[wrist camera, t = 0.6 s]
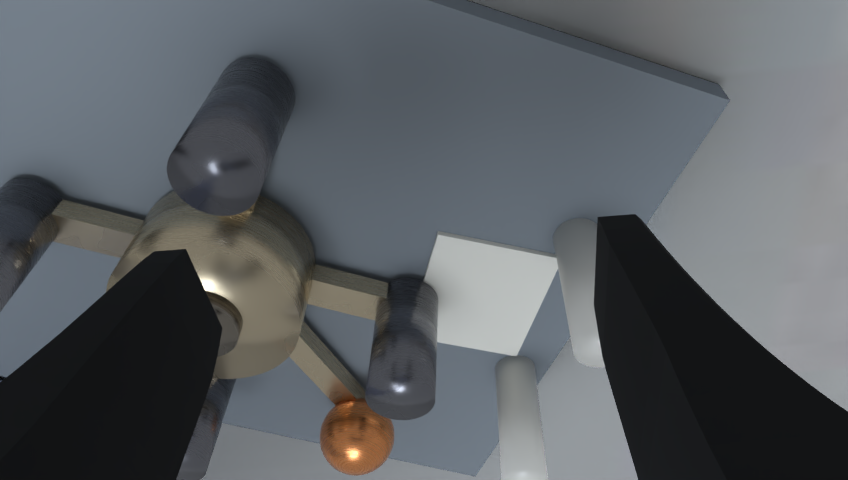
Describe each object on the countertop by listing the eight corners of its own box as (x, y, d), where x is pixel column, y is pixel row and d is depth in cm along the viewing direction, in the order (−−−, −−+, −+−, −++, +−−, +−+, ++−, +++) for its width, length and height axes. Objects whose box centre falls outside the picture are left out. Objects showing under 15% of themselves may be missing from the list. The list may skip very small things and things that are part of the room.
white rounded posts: (525, 384, 27) (536, 497, 23) (386, 351, 26) (374, 463, 22) (626, 230, 22) (663, 342, 18) (458, 182, 21) (459, 289, 17)
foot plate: (474, 457, 33) (475, 476, 32) (-45, 345, 29) (-60, 363, 28) (719, 84, 20) (730, 100, 19) (-161, -210, 16) (-193, -205, 15)
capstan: (386, 428, 29) (377, 524, 26) (17, 347, 27) (-48, 442, 23) (524, 138, 20) (539, 230, 16) (-27, -29, 17) (-147, 38, 14)
